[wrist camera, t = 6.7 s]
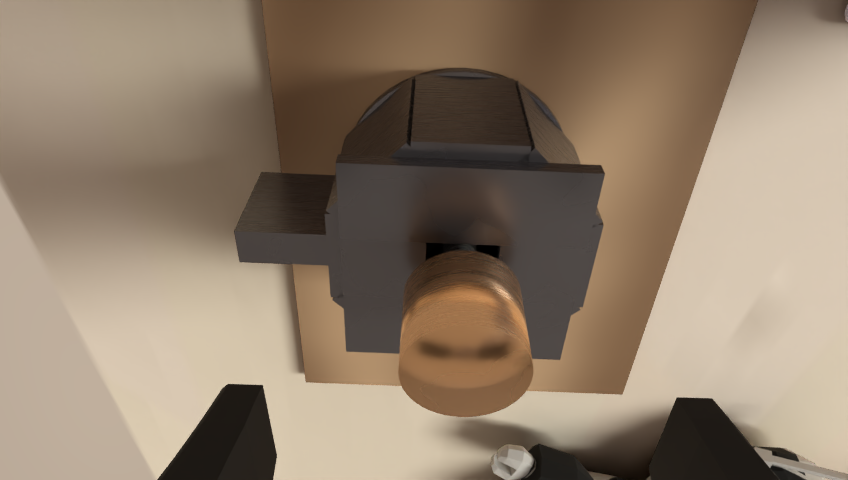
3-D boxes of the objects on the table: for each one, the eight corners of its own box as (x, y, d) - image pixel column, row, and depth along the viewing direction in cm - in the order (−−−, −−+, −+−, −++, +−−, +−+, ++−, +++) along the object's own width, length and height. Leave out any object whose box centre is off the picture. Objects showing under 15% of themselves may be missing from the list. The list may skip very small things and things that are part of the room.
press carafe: (588, 72, 17) (632, 154, 13) (549, 267, 21) (574, 372, 18) (257, 59, 17) (205, 137, 13) (282, 256, 21) (247, 360, 17)
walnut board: (784, -106, 15) (793, -104, 15) (619, 384, 26) (622, 394, 25) (251, -130, 15) (246, -128, 15) (307, 372, 26) (305, 382, 25)
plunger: (548, 120, 17) (605, 290, 11) (525, 256, 20) (561, 448, 14) (377, 113, 17) (345, 280, 11) (378, 250, 20) (353, 440, 14)
